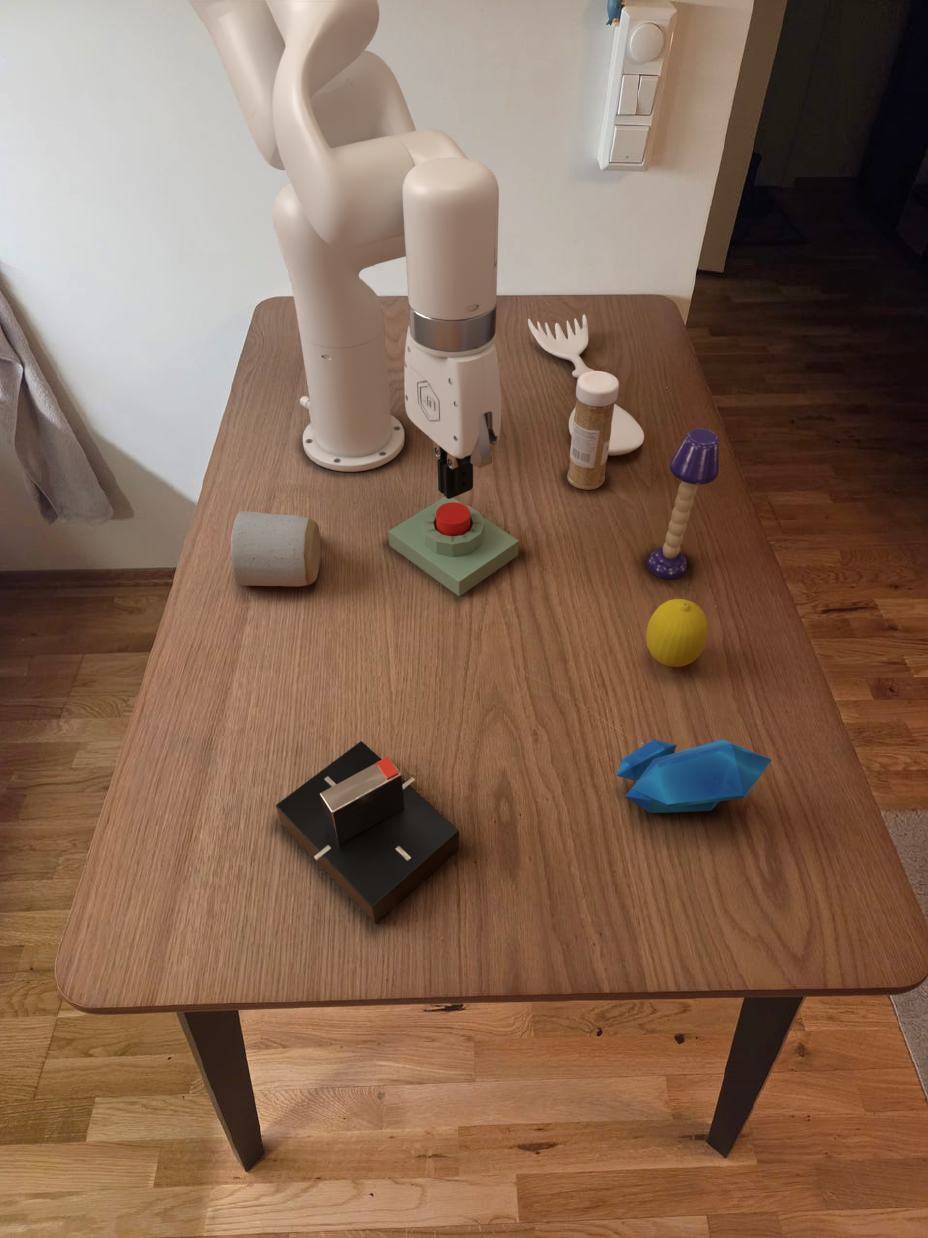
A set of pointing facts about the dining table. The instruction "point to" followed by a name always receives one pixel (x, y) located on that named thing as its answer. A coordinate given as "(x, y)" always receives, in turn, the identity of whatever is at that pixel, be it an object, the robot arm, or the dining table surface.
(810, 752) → the dining table surface
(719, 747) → the crystal
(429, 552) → the button block
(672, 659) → the lemon
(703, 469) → the toy lamp
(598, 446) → the sprinkles bottle
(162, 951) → the dining table surface
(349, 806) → the silver block red tip
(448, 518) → the red button
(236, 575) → the grey cylinder
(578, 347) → the white salad fork spoon
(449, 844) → the knob panel
